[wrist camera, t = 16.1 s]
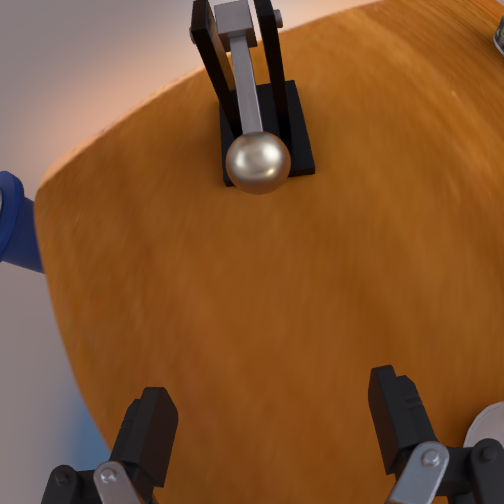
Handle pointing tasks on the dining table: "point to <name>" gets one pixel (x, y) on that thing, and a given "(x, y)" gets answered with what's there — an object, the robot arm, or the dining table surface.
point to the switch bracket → (269, 95)
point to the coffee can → (500, 37)
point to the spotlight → (487, 425)
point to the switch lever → (249, 109)
